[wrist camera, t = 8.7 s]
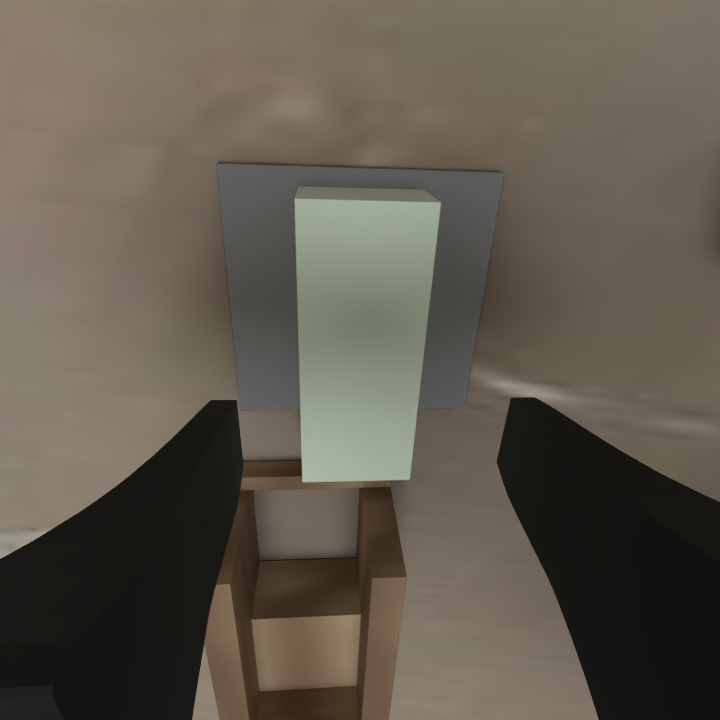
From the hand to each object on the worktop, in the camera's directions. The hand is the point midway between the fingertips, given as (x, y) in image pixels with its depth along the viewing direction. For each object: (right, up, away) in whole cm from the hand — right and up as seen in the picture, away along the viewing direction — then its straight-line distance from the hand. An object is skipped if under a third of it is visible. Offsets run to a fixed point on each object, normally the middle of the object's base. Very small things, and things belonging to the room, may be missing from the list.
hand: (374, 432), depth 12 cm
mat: (0, +4, +5) cm, 7 cm away
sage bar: (0, +3, +5) cm, 6 cm away
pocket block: (-3, -8, +12) cm, 15 cm away
